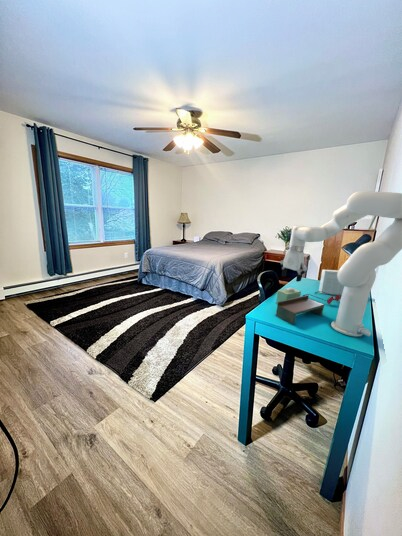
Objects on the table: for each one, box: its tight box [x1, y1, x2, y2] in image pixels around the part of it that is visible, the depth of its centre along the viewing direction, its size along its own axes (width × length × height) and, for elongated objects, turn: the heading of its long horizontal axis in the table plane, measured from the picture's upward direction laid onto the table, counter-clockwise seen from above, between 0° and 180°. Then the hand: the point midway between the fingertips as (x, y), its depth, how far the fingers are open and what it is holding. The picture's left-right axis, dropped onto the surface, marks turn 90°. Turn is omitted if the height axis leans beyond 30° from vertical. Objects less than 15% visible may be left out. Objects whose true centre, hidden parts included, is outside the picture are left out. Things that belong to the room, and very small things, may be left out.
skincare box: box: [318, 269, 344, 296], centre depth 146 cm, size 21×5×16 cm, turn 84°
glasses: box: [302, 290, 341, 305], centre depth 136 cm, size 14×16×5 cm
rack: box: [275, 294, 325, 325], centre depth 111 cm, size 10×24×8 cm, turn 120°
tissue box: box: [275, 287, 302, 305], centre depth 125 cm, size 6×12×9 cm, turn 120°
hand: (290, 278), depth 123 cm, fingers open, 9 cm apart
